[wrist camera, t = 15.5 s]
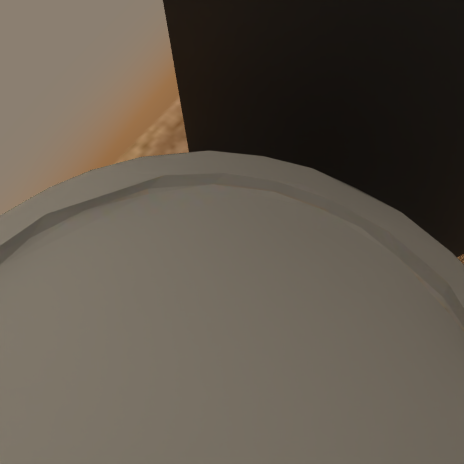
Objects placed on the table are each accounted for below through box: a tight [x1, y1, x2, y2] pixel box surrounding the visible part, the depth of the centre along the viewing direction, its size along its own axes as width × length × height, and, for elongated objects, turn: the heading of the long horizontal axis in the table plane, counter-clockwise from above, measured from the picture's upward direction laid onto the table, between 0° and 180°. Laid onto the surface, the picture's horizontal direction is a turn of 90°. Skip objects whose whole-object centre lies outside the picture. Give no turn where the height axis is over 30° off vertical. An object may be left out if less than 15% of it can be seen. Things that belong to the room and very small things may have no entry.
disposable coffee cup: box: [0, 151, 464, 464], centre depth 10 cm, size 10×10×12 cm
